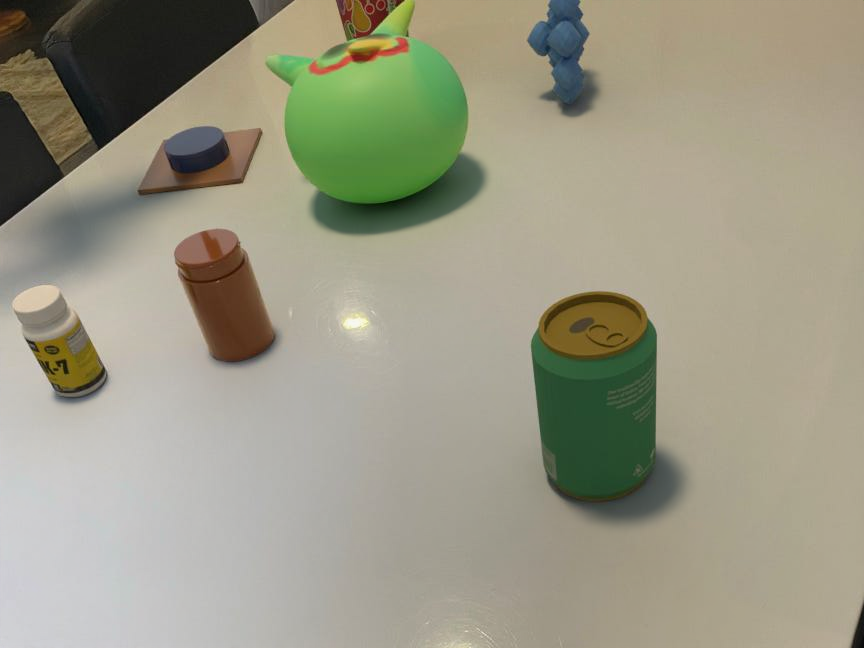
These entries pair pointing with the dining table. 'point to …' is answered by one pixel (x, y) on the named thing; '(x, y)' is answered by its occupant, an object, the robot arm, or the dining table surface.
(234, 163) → the coaster
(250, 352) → the jar
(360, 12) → the smoothie
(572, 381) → the beverage can
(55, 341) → the supplement bottle
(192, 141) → the lid
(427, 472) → the dining table surface
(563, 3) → the grapes
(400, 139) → the toy bird
